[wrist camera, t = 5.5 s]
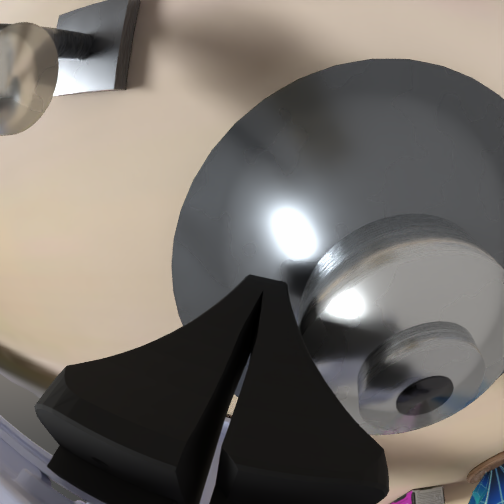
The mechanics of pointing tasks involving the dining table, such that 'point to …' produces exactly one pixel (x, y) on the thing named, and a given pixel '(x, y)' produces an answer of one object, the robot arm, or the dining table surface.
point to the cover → (405, 321)
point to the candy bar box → (423, 496)
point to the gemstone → (494, 470)
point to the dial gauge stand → (63, 59)
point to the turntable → (339, 175)
